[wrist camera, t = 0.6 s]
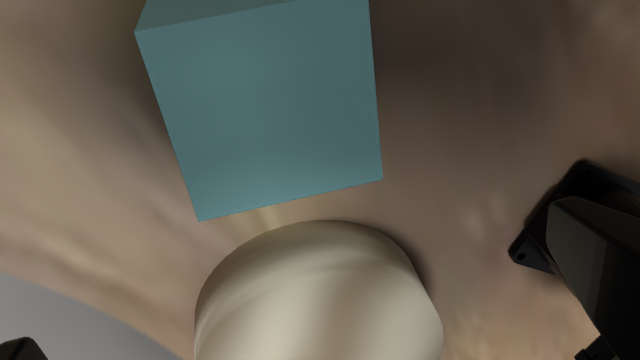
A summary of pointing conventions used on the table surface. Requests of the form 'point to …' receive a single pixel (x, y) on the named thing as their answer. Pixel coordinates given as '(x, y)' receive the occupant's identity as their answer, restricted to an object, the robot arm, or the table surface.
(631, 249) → the robot arm
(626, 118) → the table surface
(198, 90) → the teal block
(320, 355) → the birch riser
